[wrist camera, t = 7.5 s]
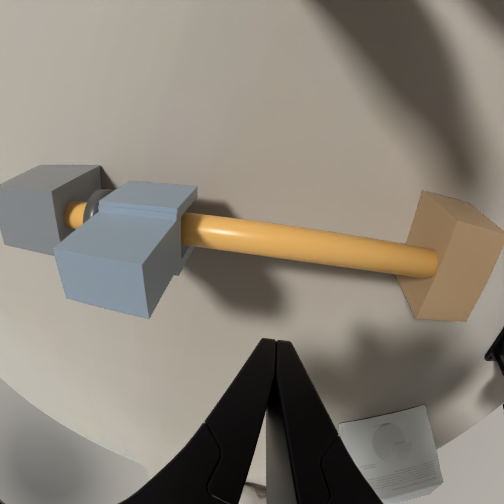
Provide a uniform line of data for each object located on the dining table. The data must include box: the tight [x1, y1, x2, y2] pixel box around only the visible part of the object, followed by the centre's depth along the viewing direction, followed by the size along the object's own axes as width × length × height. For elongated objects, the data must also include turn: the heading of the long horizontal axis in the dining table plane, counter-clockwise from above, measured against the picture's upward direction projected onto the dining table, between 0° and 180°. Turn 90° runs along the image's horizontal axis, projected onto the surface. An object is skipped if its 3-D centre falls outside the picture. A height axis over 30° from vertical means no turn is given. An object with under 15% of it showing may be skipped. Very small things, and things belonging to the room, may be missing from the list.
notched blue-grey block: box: [53, 181, 197, 319], centre depth 13 cm, size 4×3×7 cm
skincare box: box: [339, 405, 443, 504], centre depth 24 cm, size 10×6×10 cm, turn 106°
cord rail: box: [0, 165, 504, 322], centre depth 15 cm, size 30×6×5 cm, turn 84°
